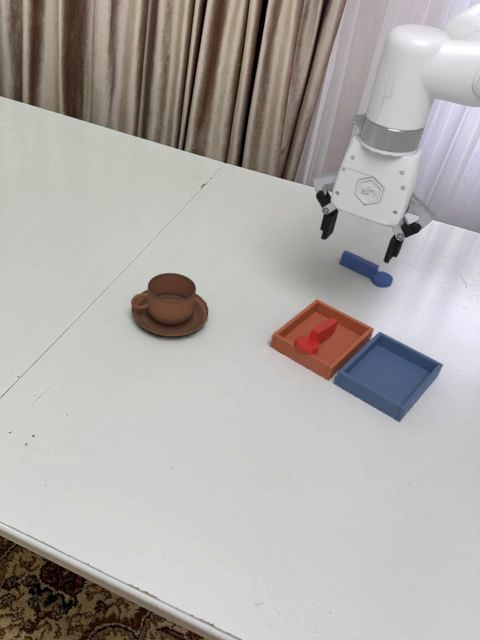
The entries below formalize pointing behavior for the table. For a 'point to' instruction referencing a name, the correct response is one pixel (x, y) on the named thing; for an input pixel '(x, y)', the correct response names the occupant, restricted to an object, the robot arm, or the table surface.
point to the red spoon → (316, 336)
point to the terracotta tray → (332, 349)
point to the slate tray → (388, 375)
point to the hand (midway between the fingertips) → (357, 247)
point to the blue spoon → (366, 269)
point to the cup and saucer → (170, 306)
